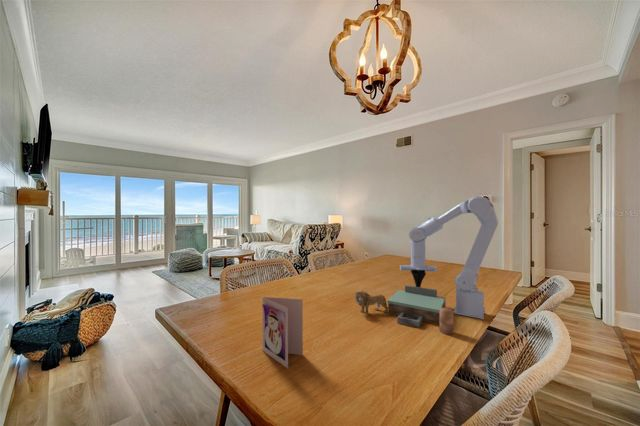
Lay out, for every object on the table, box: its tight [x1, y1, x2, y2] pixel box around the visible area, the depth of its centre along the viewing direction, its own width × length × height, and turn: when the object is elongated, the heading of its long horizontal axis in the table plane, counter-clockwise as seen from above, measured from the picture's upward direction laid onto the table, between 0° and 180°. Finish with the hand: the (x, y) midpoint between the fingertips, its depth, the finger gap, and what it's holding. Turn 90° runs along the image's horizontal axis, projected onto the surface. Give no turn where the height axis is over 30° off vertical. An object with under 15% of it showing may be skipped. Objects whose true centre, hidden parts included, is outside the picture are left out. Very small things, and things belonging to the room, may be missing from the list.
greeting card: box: [261, 296, 304, 369], centre depth 70 cm, size 11×7×15 cm, turn 45°
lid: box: [386, 285, 446, 313], centre depth 99 cm, size 18×15×4 cm
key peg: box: [438, 307, 454, 336], centre depth 83 cm, size 4×4×7 cm
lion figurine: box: [354, 289, 388, 316], centre depth 99 cm, size 15×5×9 cm, turn 112°
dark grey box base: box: [387, 301, 446, 329], centre depth 96 cm, size 18×21×4 cm
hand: (417, 287), depth 109 cm, fingers closed
